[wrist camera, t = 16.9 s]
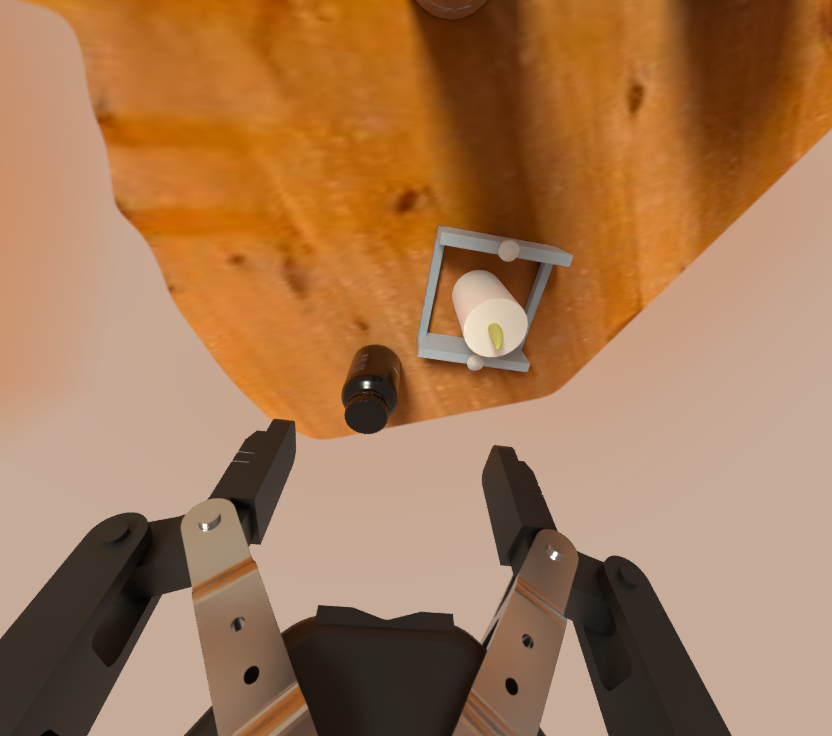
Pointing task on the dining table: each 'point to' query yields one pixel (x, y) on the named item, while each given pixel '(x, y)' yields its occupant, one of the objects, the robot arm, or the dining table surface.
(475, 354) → the holder
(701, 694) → the robot arm
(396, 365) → the supplement bottle
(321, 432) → the dining table surface
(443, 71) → the dining table surface
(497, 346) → the candle
